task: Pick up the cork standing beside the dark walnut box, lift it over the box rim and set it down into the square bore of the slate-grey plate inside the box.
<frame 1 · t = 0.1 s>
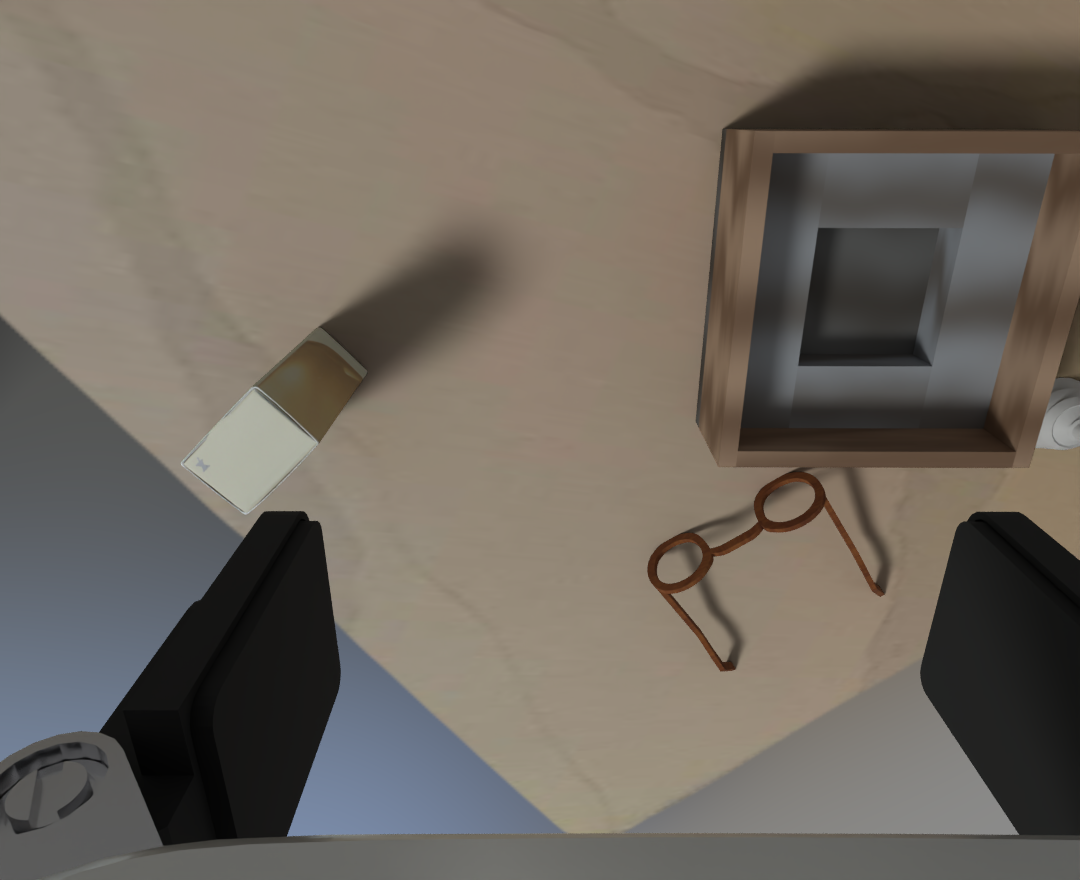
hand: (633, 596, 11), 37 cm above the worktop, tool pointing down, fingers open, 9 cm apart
glasses: (762, 569, 55), on the worktop
bore box: (853, 286, 46), on the worktop
chalice: (1050, 412, 49), on the worktop
skincare box: (316, 376, 49), on the worktop
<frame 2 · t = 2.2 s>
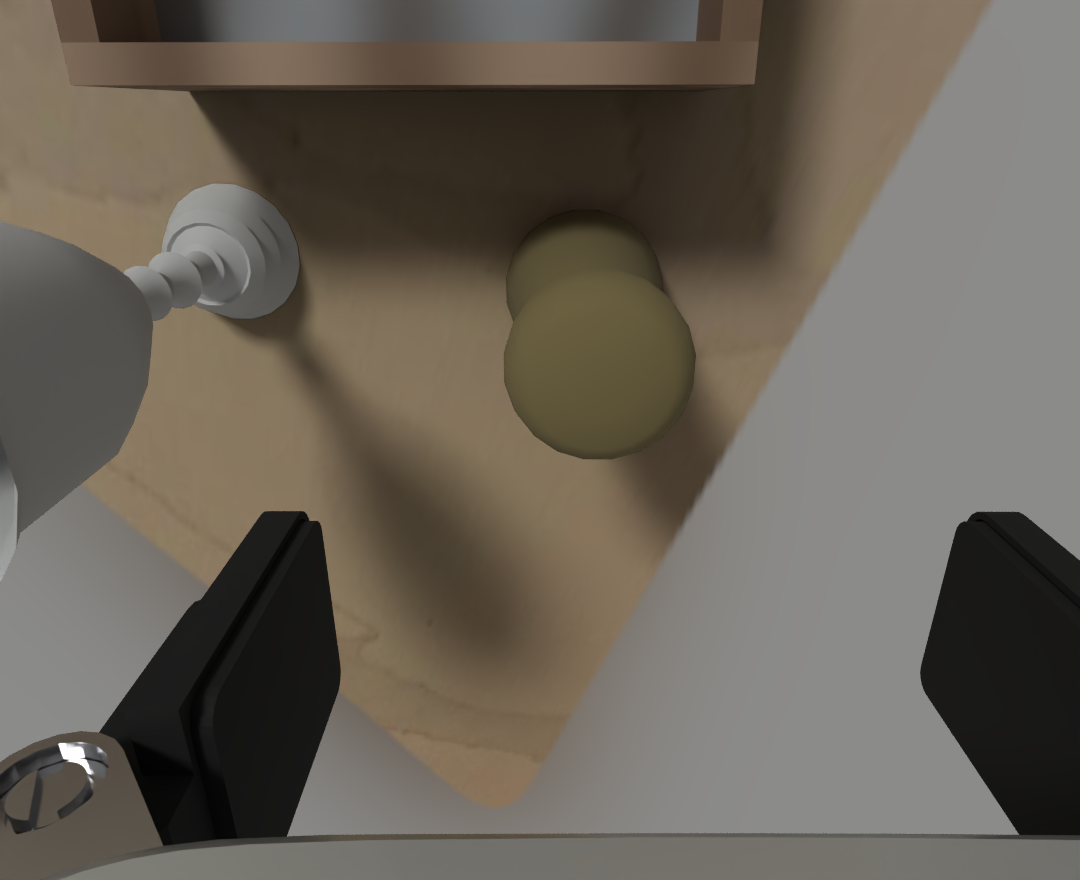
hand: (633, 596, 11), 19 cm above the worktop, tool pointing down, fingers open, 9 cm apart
cork: (583, 289, 29), on the worktop
chalice: (234, 252, 28), on the worktop
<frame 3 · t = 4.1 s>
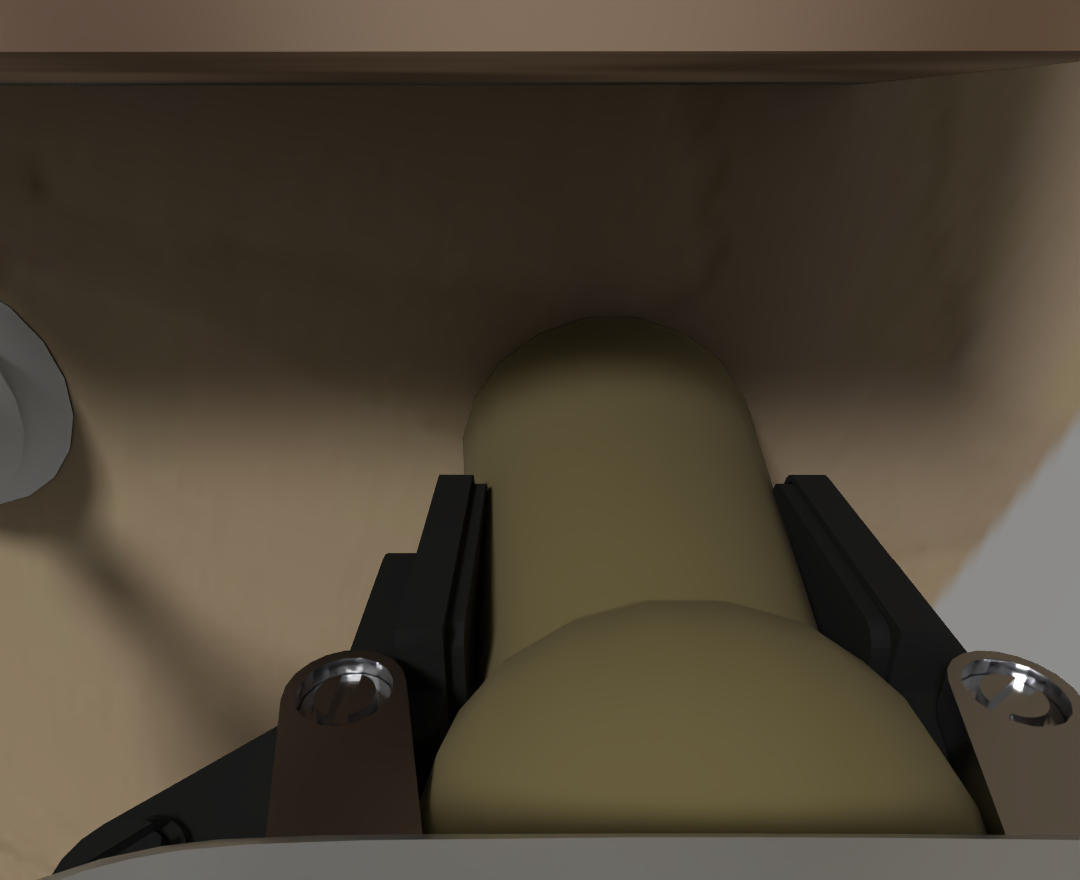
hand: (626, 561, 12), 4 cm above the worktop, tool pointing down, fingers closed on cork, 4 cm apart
cork: (606, 454, 16), on the worktop, touching gripper
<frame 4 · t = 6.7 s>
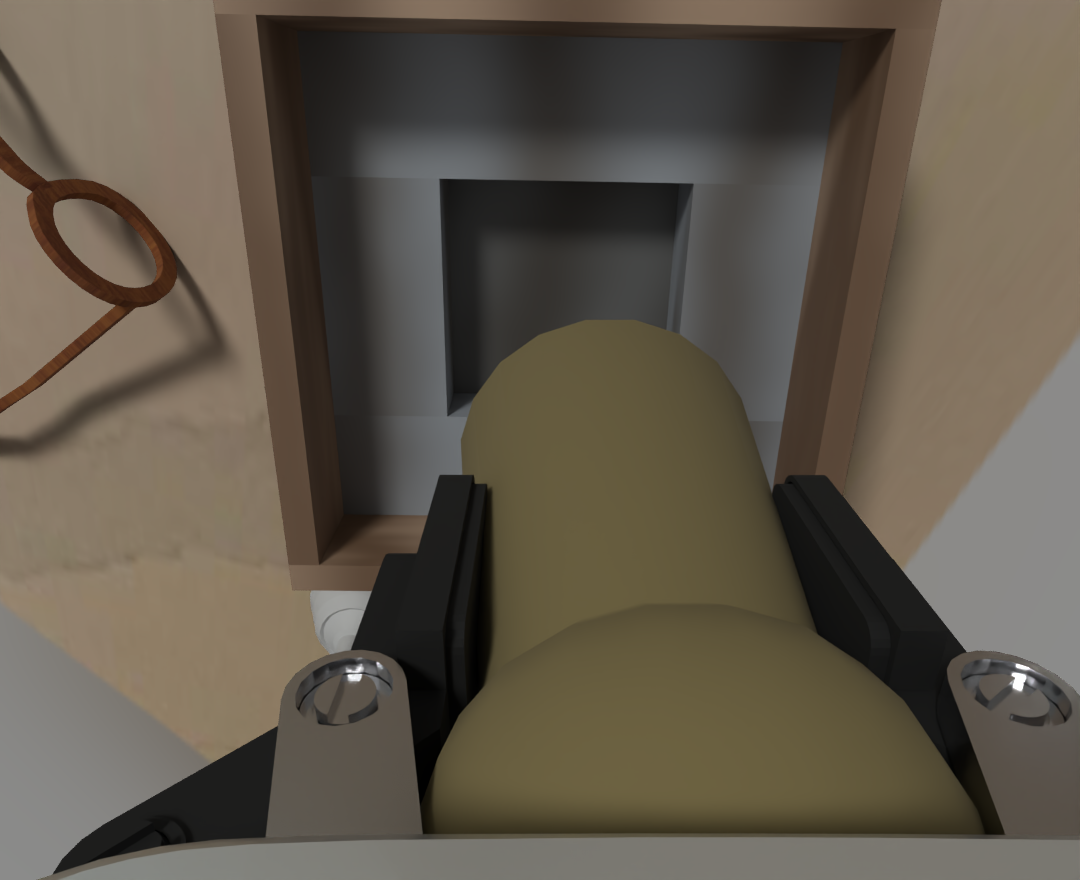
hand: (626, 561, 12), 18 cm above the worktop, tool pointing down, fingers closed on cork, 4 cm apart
bore box: (559, 286, 28), on the worktop
cork: (604, 456, 16), point 14 cm above the worktop, touching gripper
chalice: (366, 602, 34), on the worktop
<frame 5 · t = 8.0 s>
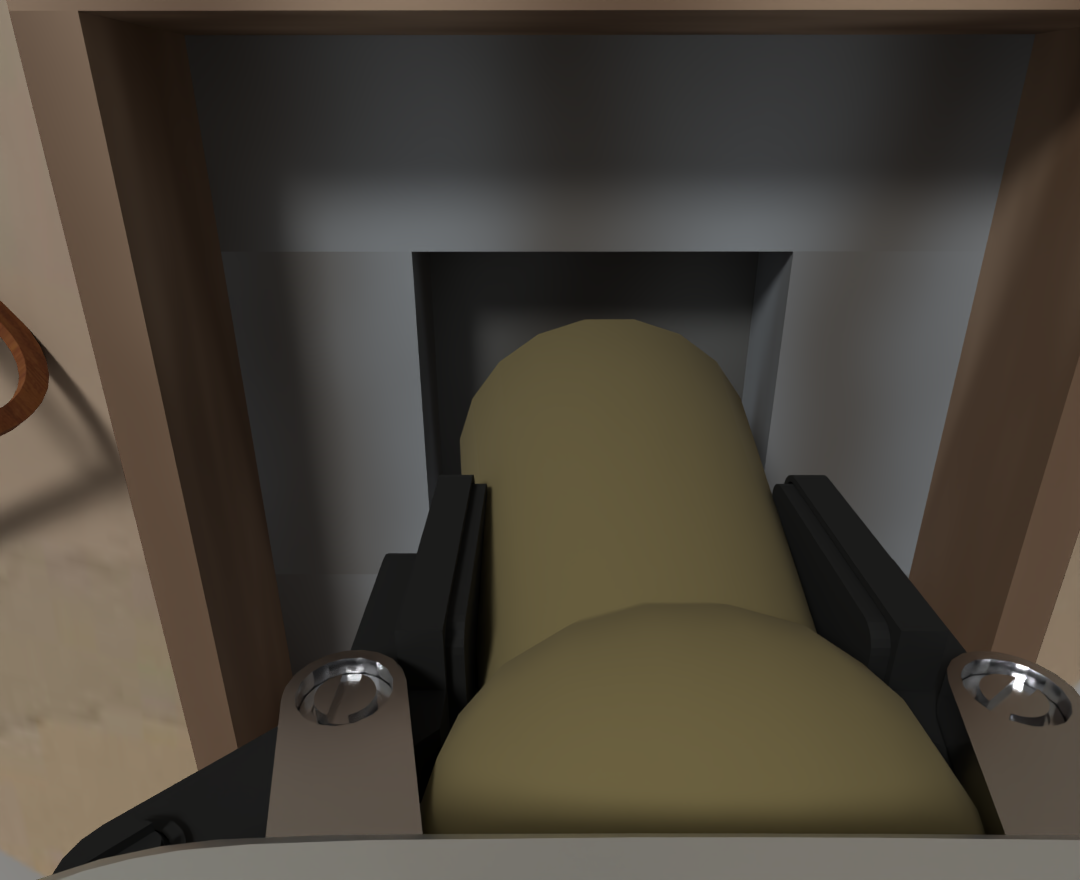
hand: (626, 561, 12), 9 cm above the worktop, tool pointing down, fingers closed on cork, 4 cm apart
bore box: (588, 378, 20), on the worktop
cork: (603, 456, 16), point 5 cm above the worktop, touching gripper
when the fingers open (6 cm above the worktop, at t = 9.1 s): cork stays where it is, resting on bore box.
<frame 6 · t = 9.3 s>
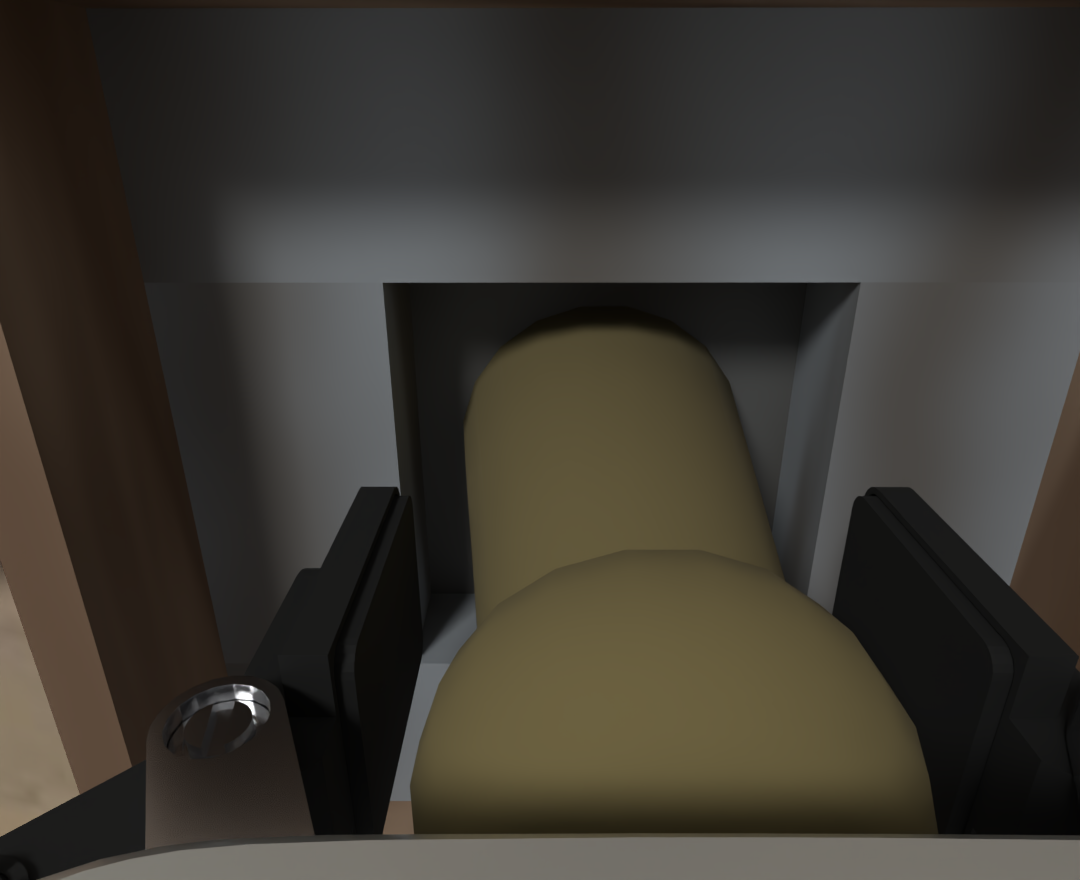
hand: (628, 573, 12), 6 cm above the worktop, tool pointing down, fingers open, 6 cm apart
bore box: (599, 424, 17), on the worktop
cork: (599, 437, 16), point 1 cm above the worktop, touching bore box
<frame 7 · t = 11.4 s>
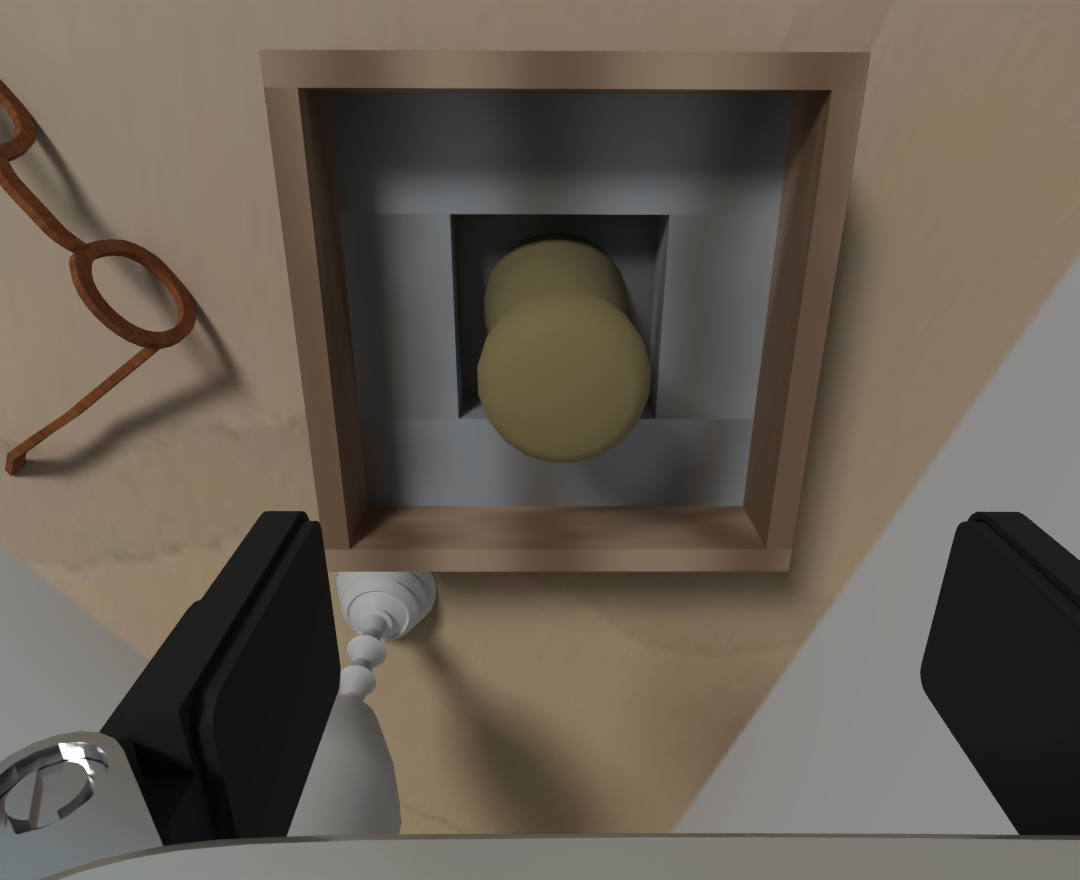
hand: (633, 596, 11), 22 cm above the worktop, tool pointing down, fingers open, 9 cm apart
glasses: (0, 278, 32), on the worktop
bore box: (555, 302, 32), on the worktop
cork: (555, 305, 31), point 1 cm above the worktop, touching bore box
chalice: (387, 586, 38), on the worktop
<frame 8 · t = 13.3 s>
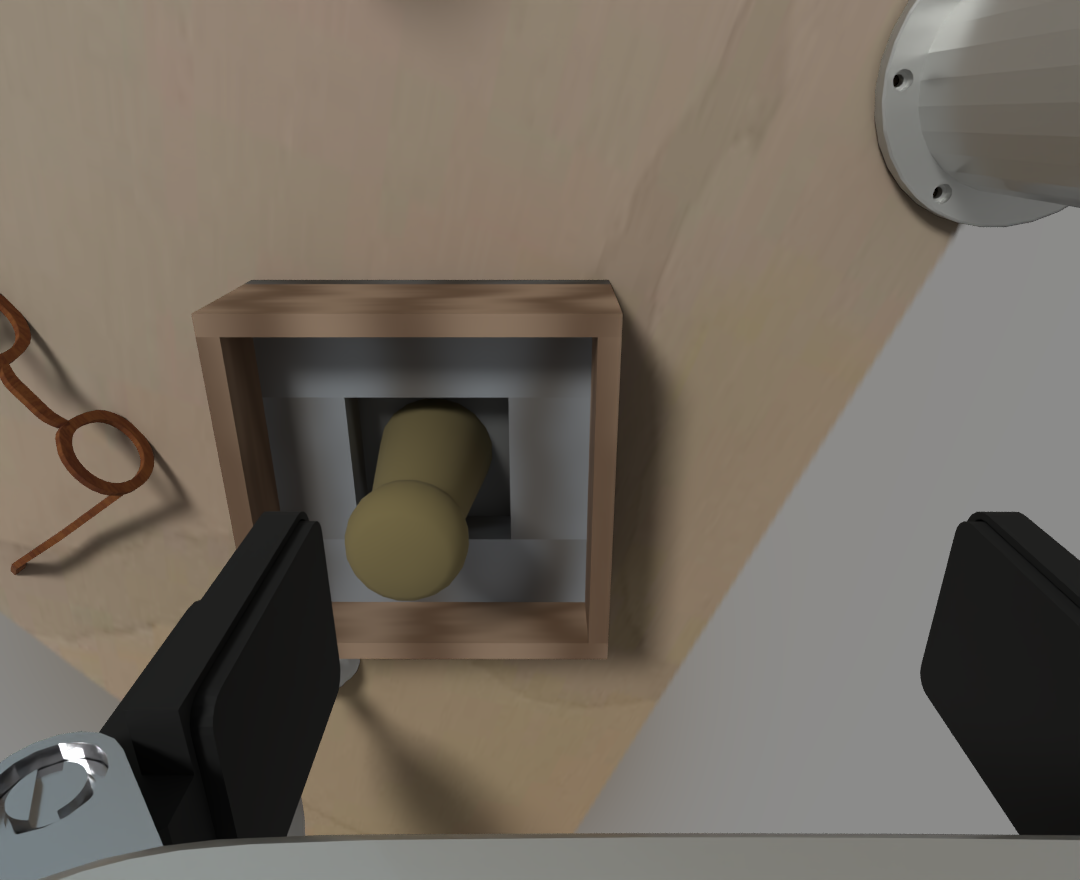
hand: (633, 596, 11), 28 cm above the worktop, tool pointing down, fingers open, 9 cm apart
glasses: (5, 430, 41), on the worktop
bore box: (439, 443, 41), on the worktop
cork: (437, 449, 40), point 1 cm above the worktop, touching bore box
chalice: (320, 653, 47), on the worktop
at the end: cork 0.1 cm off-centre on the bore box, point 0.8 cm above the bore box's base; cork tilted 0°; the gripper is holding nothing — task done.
